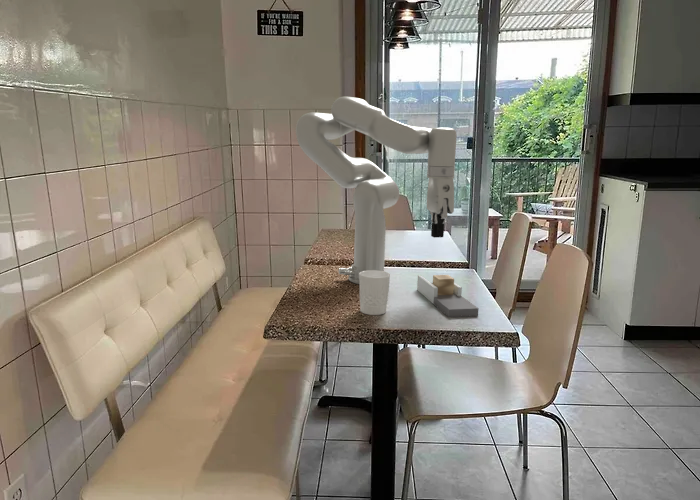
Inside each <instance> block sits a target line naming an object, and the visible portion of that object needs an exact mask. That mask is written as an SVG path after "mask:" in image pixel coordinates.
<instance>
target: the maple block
mask: <svg viewBox="0 0 700 500" xmlns="http://www.w3.org/2000/svg"><path fill="white" fill-rule="evenodd" d="M454 282H455V278H453V277H452V276H451V275H449V274H437V275H436V274H432V283H433V285H435V286H436V287H437V288H438V294H437V295H453V290H454Z"/></svg>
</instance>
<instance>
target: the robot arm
mask: <svg viewBox="0 0 700 500" xmlns="http://www.w3.org/2000/svg"><path fill="white" fill-rule="evenodd" d="M354 131H357V132H359V133H361V134H362V135H366V136H368V137H370V138H372V140H374V141H376V142H377V143H379V144H381V145H383V146H386V147H388V148H390V149H392V150H394V151H397V152H399V153H402V154H407V155H410V154H411V155H412V154H413V155H414V154H415V155H418V154H427V171H426V174H427V175H426V178H428V184H427V194H426V209H427V210H428V211H429V213H430V215H431V217H430V218H431V229H430V230H431V232H430V237H432V238H434V239H435V238H444V234H445V224H446V219H448V214H450V215H452V214H453V213H454V210H455V185H454V182H455V181H454V179H455V168H456V167H455V166H456V152H457V151H456V150H457V148H456V147H457V137H458V136H457V131H456V129H454V128H451V127H434V128H430V127H424V126H423V127H422V126H416V125H415V126H414V125H413V126H412V125H408V124H404V123H401V122H399V121H397V120H394V119H392V118H390V117H389V116H387V115H386V113H385V111H384V110H383V109H381V108H379V107H376V106H373V105H371V104H369V102H367V101H366V100H365V99H363V98H359V97H353V96H347V95H346V96H340V97H338V98H336V99H335V100H334V101H333V102H332V104H331V106H330V113H329V112H317V111H310V112H307V113H304V114H302V116H300V117H299V118H298V119H297V121H296V126H295V135H296V140H297V143H298V145H299V148H300V149H301V150H302V152H303V153H304V154H305V155H306V156H307V157H308V158H309V159H310V160H311V161H312V162H313V163H314V164H316V165H317V166H318V167H319V168H321V170H322V171H323V172H324V173H326V175H328V176H329V177H330V178H331V179H332V180H333V181H334V182H335V183H336V184H337V185H338V186H340V187H341V188H343V189H354V190H353V194H352V202H353V210H354V247H353V248H354V249H353V250H354V254H353V264H351V266H349V267H348V268H346V267H339V268H338V274H339V275H343V276H348V281H350V282H351V283H353V284H357V285H359V273H360V272H362V271H367V270H378V271H384V272H385V258H386V256H385V255H386V253H385V252H386V234H387V233H386V230H387V227H386V226H387V225H386V223H387V222H386V216H385V212H384V210H385V209H388V208H391V207H393V206H395V205H396V204H397V202H398V201H399V199H400V189H399V186H398V185H397V182H396V181H395V180H393V179H392V178H391V177H390V176H389V175H388V174H387V173H386V172H385V171H383V170H382V169H381V168H380V167H379V166H377V164H375V162H372V160H370V159H367V158H365V157H352V156H350V155H348V154H347V153H345V152H344V151H343V150H341V149H340V147H338V145H336V144H334V143H333V142H331V140H337V139H339V138H341V137H343V136H346V135H347V134H350V133H351V132H354Z"/></svg>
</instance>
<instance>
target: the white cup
mask: <svg viewBox="0 0 700 500" xmlns="http://www.w3.org/2000/svg"><path fill="white" fill-rule="evenodd" d="M390 278H391V273H389V272H387V271H385V270H384V271H378V270H367V271H362V272H360V273H359V284H358V286H359V288H358V289H359V292H358V293H359V304H360V305H359V307H360V310H359V311H360V313H362V314H365V315H367V316H381V315H384V314H386V312H387V305H388V299H389V292H390V291H389V290H390V281H391V280H390Z"/></svg>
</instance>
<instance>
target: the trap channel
mask: <svg viewBox="0 0 700 500" xmlns="http://www.w3.org/2000/svg"><path fill="white" fill-rule="evenodd" d="M462 289H463V288H462V286H461V285H459V284H458V283H456V282H455V281H454V290H453V295H437V294H438V288H437V287H436V286H435V285H433V282H431V281H429V280H428V279H427V278H425V277H424V275H421V274H420V275H419V274H418V275H417V282H416V291H418V292H419V293H420V294H421V295H423V296H424V297H425V298H426V299H427V300H428V301H429V302H431V304H433V305H434V306H435V307H436V308H437V309H438V310H439V311H441V312H442V313H443V314H445V316H446V317H448V318H456V317H457V318H459V317H478V316H479V307H477V306H476V305H474V304H473V303H471V302H470V301H469V300H468V299H466V298H464V297H463V294H462V291H463V290H462Z"/></svg>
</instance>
